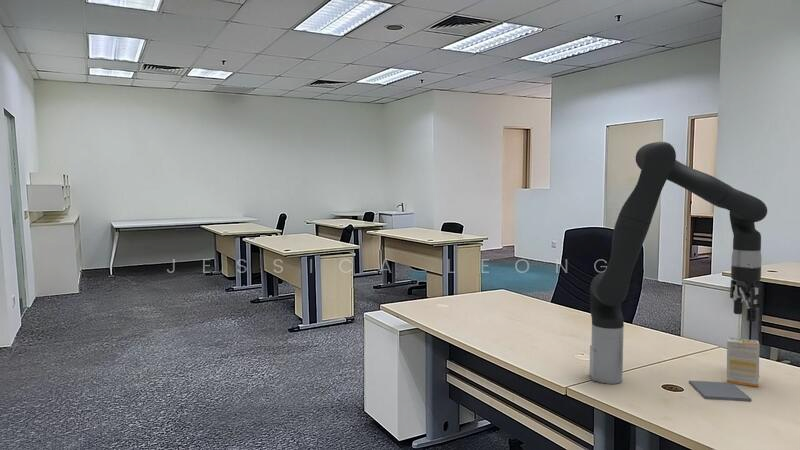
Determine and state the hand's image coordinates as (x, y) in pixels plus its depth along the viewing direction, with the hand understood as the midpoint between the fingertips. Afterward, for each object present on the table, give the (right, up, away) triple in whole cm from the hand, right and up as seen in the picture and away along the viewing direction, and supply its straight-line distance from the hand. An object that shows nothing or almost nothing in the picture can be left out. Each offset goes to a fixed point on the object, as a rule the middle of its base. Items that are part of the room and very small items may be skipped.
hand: (744, 317), depth 159 cm
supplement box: (0, -20, +2) cm, 20 cm away
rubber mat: (-11, -21, -6) cm, 24 cm away
